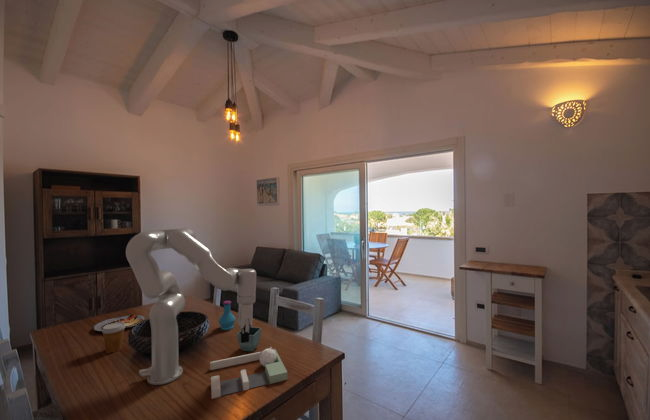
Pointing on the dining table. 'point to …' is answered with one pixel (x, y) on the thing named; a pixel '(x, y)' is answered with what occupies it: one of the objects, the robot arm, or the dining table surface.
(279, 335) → the dining table surface
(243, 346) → the flower pot
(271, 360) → the ornament
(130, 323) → the food plate
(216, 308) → the dining table surface
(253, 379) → the u-shaped rail frame
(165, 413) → the dining table surface
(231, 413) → the dining table surface
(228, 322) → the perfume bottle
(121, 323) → the disposable coffee cup
